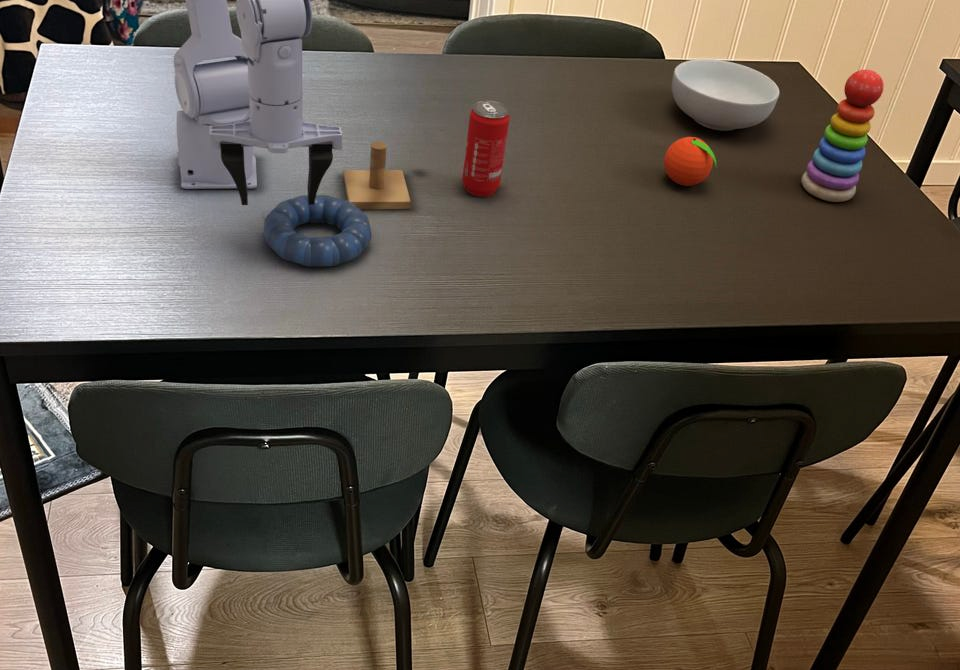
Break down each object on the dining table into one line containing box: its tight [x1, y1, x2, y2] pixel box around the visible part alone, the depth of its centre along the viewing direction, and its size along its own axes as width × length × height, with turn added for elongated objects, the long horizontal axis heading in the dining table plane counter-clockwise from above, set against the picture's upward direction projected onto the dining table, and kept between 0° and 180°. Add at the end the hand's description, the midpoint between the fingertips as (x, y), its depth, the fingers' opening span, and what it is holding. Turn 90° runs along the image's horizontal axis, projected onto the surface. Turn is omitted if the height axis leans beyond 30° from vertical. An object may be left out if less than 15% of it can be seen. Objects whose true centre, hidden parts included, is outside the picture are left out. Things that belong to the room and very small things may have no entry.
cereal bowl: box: [671, 58, 780, 132], centre depth 155 cm, size 17×17×7 cm
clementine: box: [663, 136, 717, 187], centre depth 138 cm, size 8×7×7 cm
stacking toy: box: [801, 69, 884, 203], centre depth 137 cm, size 8×8×19 cm
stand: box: [342, 141, 411, 211], centre depth 126 cm, size 8×8×7 cm
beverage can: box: [461, 100, 511, 198], centre depth 128 cm, size 5×5×12 cm
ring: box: [263, 194, 372, 268], centre depth 117 cm, size 13×13×3 cm
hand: (278, 200), depth 113 cm, fingers open, 7 cm apart
